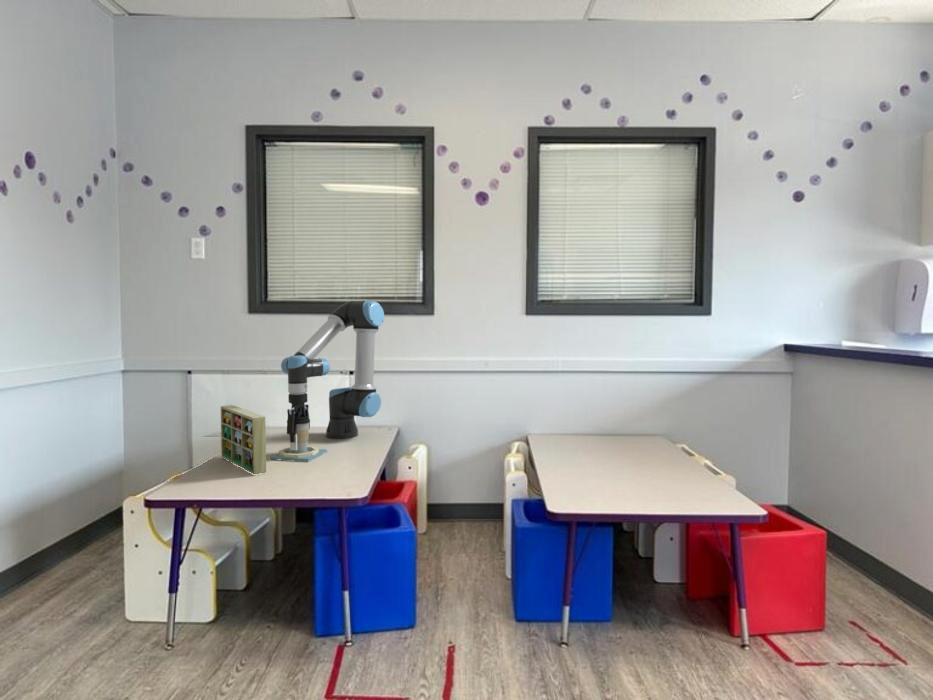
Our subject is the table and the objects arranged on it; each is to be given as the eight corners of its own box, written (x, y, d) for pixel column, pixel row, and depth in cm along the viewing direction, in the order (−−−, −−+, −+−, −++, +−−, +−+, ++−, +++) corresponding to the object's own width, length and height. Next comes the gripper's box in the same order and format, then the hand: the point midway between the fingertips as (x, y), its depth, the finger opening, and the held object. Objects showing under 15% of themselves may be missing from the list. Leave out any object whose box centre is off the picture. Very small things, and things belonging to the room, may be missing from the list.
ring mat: (290, 450, 256) (290, 444, 256) (327, 452, 253) (326, 446, 253) (269, 459, 240) (269, 453, 240) (308, 462, 236) (308, 456, 236)
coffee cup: (304, 456, 241) (303, 419, 240) (283, 455, 243) (282, 418, 242) (314, 450, 250) (314, 415, 249) (294, 449, 252) (293, 414, 251)
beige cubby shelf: (221, 458, 242) (219, 405, 241) (232, 456, 245) (231, 404, 244) (254, 476, 216) (253, 417, 215) (266, 474, 219) (265, 416, 218)
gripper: (293, 397, 233) (295, 453, 235) (317, 390, 254) (318, 442, 255) (276, 396, 235) (277, 453, 237) (301, 389, 255) (302, 441, 257)
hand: (299, 447), depth 246 cm, fingers closed on coffee cup, 8 cm apart
